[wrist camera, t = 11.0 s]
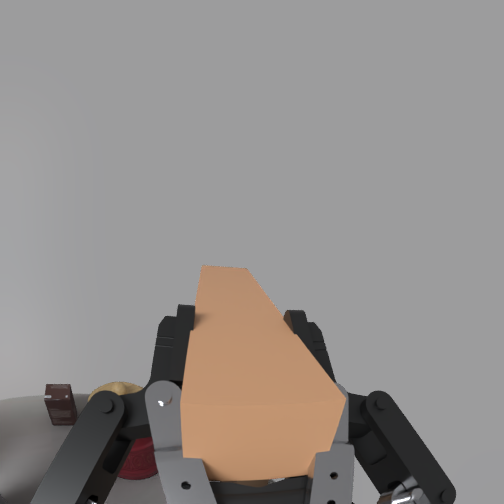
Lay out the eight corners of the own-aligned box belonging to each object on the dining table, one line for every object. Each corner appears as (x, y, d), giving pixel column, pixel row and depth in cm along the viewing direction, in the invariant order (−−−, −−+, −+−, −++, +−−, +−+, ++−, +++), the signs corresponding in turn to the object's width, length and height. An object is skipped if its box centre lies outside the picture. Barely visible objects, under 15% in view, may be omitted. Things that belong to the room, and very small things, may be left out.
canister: (115, 489, 30) (91, 415, 28) (90, 443, 39) (72, 369, 37) (179, 468, 39) (174, 396, 37) (147, 429, 48) (139, 359, 46)
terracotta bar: (321, 472, 7) (346, 398, 6) (185, 479, 6) (180, 403, 6) (244, 300, 26) (246, 268, 26) (200, 298, 26) (201, 265, 25)
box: (77, 409, 48) (70, 383, 47) (78, 426, 43) (70, 399, 42) (53, 409, 45) (45, 383, 44) (52, 425, 39) (43, 398, 39)
